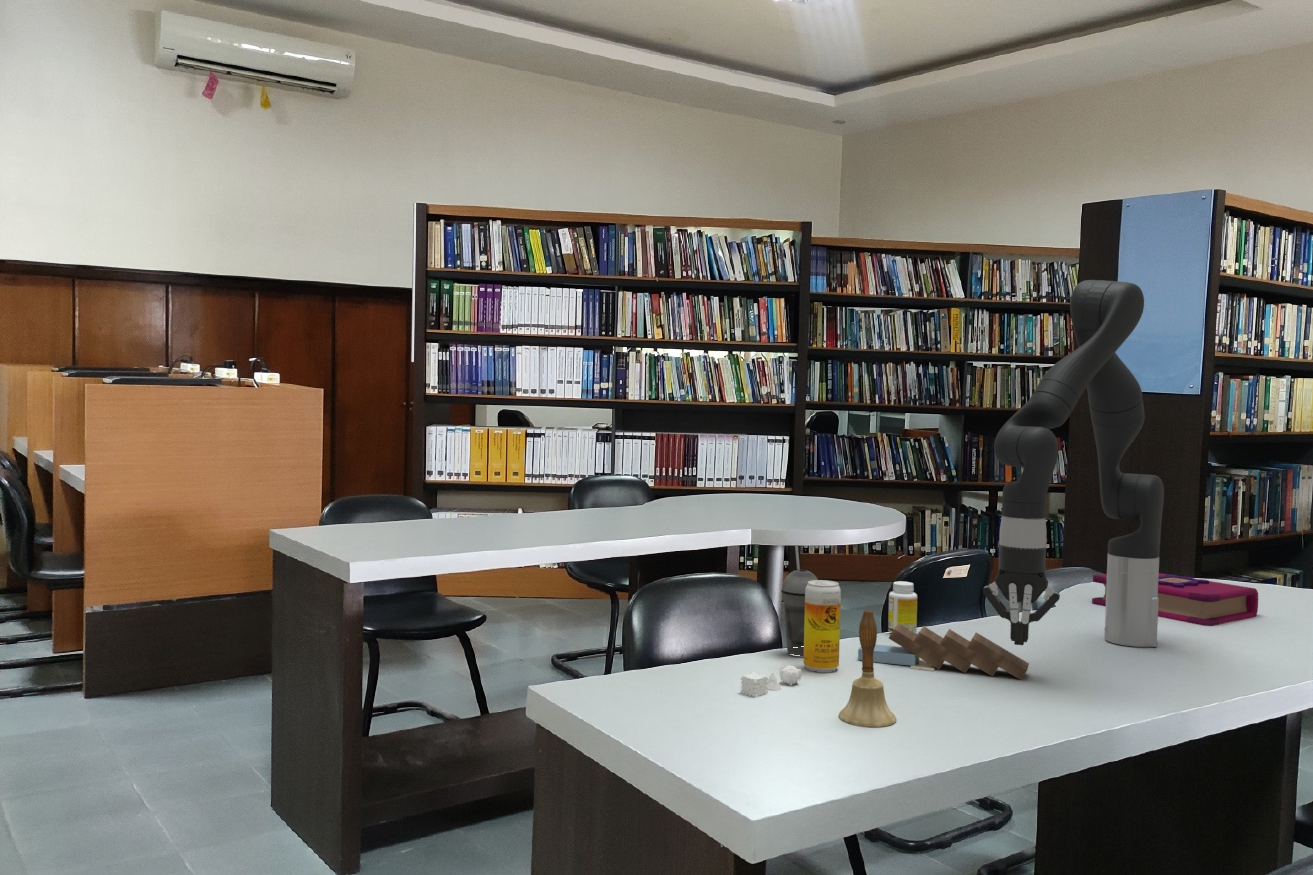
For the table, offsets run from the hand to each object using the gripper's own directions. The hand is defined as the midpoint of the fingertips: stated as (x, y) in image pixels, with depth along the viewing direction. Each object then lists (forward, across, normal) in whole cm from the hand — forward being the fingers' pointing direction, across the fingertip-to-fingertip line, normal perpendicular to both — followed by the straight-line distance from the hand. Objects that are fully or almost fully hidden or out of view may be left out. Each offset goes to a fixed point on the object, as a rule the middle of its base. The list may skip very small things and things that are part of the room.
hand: (1019, 644), depth 173 cm
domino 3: (+5, -8, 0) cm, 9 cm away
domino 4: (+5, -4, 0) cm, 6 cm away
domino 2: (+5, -12, 0) cm, 13 cm away
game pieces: (+6, -36, -26) cm, 45 cm away
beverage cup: (+6, -38, -3) cm, 38 cm away
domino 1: (+4, -17, 0) cm, 18 cm away
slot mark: (+6, -16, 0) cm, 17 cm away
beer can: (+6, -32, -11) cm, 34 cm away
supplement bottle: (+6, -24, +23) cm, 34 cm away
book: (+6, +28, +77) cm, 82 cm away
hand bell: (+6, -19, -35) cm, 40 cm away
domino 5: (+5, +1, 0) cm, 5 cm away
